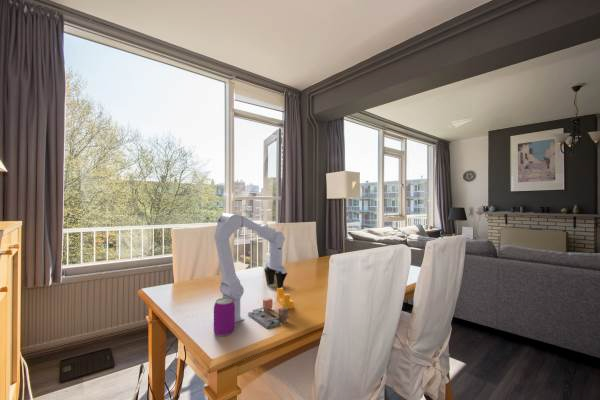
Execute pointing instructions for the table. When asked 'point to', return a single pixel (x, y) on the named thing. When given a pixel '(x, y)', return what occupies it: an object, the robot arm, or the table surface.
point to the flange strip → (263, 319)
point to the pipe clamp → (284, 299)
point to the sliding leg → (265, 304)
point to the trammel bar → (278, 314)
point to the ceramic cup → (274, 280)
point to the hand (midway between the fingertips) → (275, 285)
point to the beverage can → (224, 316)
